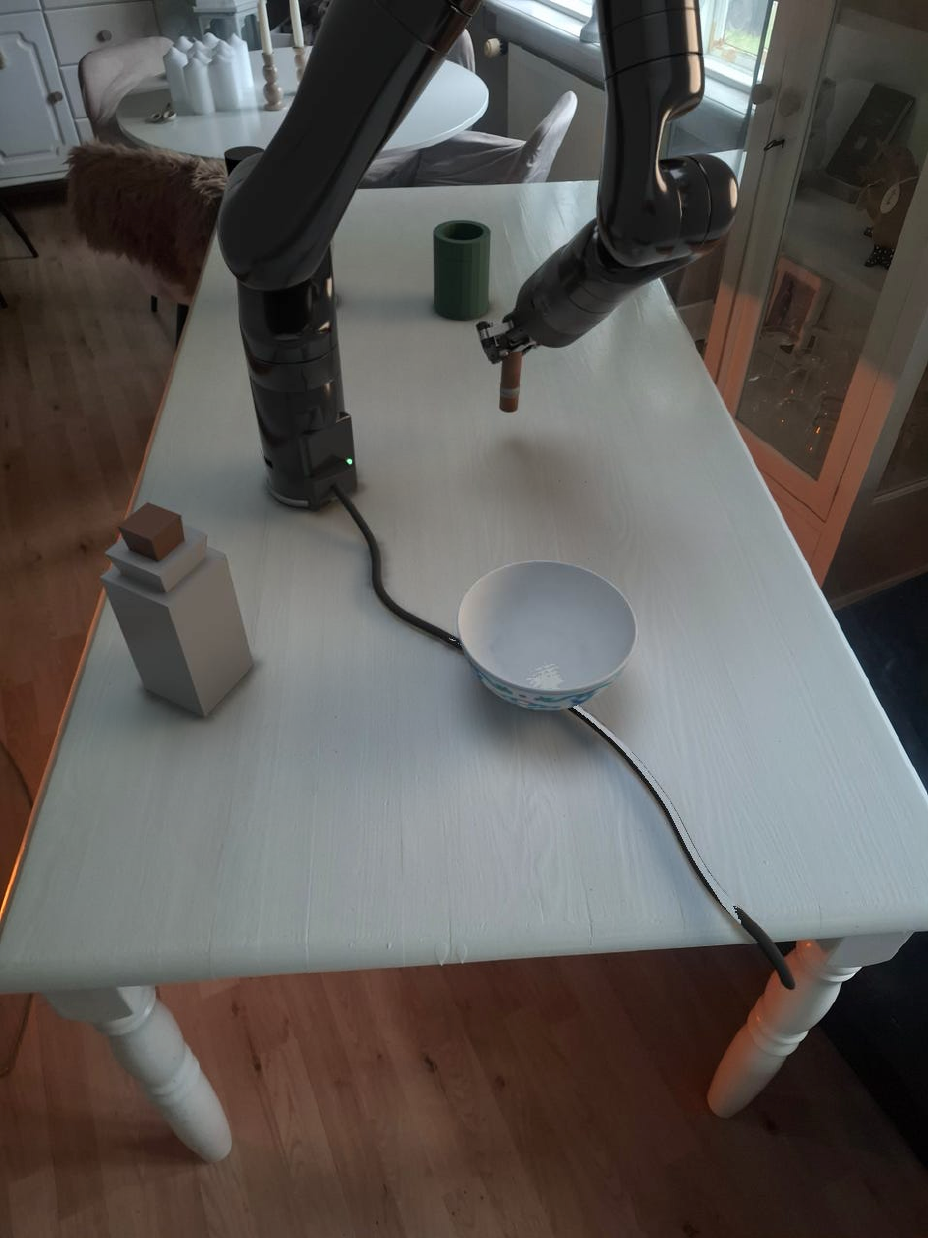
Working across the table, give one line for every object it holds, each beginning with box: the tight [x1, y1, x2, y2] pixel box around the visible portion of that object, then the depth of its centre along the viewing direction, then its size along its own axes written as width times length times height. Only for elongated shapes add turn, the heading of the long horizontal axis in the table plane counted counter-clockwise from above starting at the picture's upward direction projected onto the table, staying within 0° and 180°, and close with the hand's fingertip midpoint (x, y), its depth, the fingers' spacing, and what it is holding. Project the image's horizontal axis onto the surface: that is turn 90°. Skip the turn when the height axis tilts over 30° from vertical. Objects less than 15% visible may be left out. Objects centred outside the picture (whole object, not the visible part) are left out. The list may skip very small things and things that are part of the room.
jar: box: [432, 219, 492, 321], centre depth 122 cm, size 8×8×11 cm
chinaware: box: [456, 559, 638, 712], centre depth 74 cm, size 15×15×8 cm
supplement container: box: [223, 145, 265, 179], centre depth 143 cm, size 7×7×10 cm
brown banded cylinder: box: [498, 350, 523, 414], centre depth 96 cm, size 2×2×10 cm
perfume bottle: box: [99, 501, 254, 718], centre depth 70 cm, size 7×7×18 cm
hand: (502, 352), depth 97 cm, fingers closed on brown banded cylinder, 2 cm apart
